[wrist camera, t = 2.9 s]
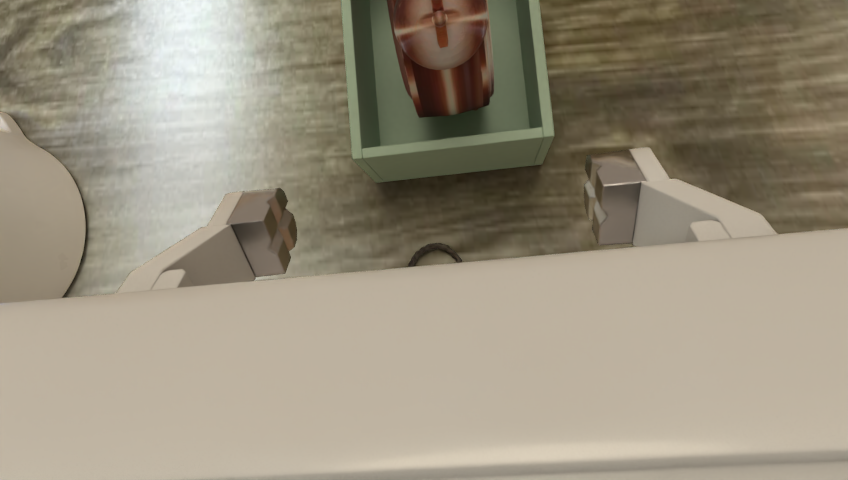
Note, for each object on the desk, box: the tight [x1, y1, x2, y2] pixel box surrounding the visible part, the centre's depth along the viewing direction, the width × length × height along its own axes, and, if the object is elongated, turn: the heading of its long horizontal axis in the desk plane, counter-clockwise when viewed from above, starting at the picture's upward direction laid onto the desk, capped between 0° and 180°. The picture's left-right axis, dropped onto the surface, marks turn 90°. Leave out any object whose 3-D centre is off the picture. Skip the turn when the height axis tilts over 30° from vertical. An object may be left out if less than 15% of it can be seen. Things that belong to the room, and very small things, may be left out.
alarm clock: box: [387, 0, 494, 118], centre depth 28 cm, size 11×5×15 cm, turn 7°
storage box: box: [341, 0, 555, 183], centre depth 32 cm, size 11×15×6 cm
